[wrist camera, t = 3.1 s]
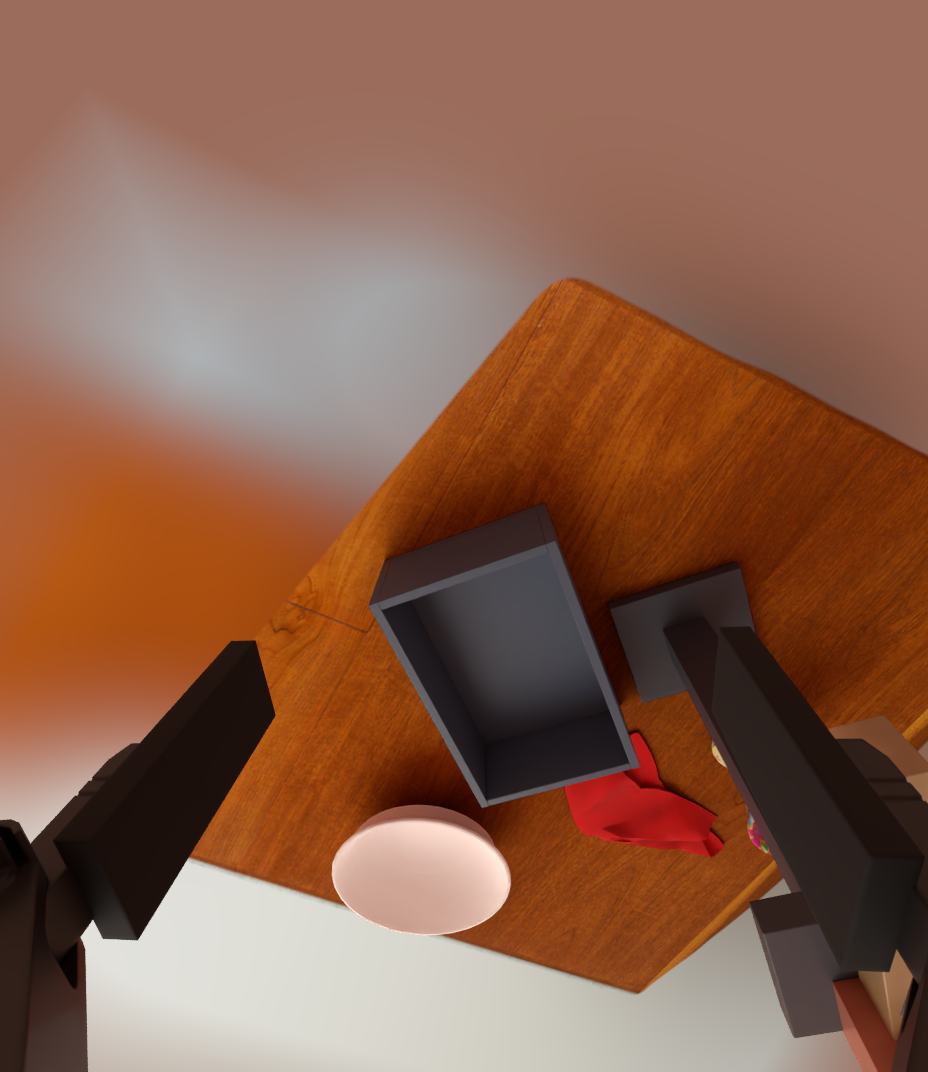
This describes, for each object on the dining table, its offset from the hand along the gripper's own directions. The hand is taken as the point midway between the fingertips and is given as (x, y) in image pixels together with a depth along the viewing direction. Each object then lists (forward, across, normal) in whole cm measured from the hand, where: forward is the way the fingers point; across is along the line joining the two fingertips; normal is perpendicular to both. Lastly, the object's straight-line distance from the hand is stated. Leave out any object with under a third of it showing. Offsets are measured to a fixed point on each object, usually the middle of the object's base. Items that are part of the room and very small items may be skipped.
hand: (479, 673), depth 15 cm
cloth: (+35, +12, -44) cm, 57 cm away
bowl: (+34, -12, -47) cm, 59 cm away
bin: (+33, -1, -20) cm, 38 cm away
